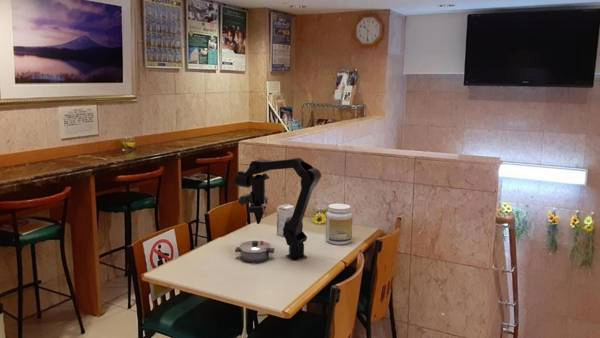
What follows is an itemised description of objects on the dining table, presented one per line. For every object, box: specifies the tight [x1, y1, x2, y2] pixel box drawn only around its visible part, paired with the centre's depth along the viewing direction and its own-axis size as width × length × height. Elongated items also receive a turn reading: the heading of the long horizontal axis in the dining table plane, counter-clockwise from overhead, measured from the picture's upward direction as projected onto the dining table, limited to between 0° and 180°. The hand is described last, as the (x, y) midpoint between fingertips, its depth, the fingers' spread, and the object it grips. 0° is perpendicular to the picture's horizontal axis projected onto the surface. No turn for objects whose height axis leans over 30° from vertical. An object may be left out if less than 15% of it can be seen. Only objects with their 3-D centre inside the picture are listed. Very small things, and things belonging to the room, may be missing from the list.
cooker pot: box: [235, 246, 275, 264], centre depth 209 cm, size 13×14×4 cm
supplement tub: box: [325, 203, 353, 246], centre depth 231 cm, size 12×12×17 cm
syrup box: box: [276, 203, 295, 238], centre depth 240 cm, size 6×6×14 cm
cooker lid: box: [239, 240, 271, 253], centre depth 208 cm, size 13×13×3 cm
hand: (258, 223), depth 217 cm, fingers closed
